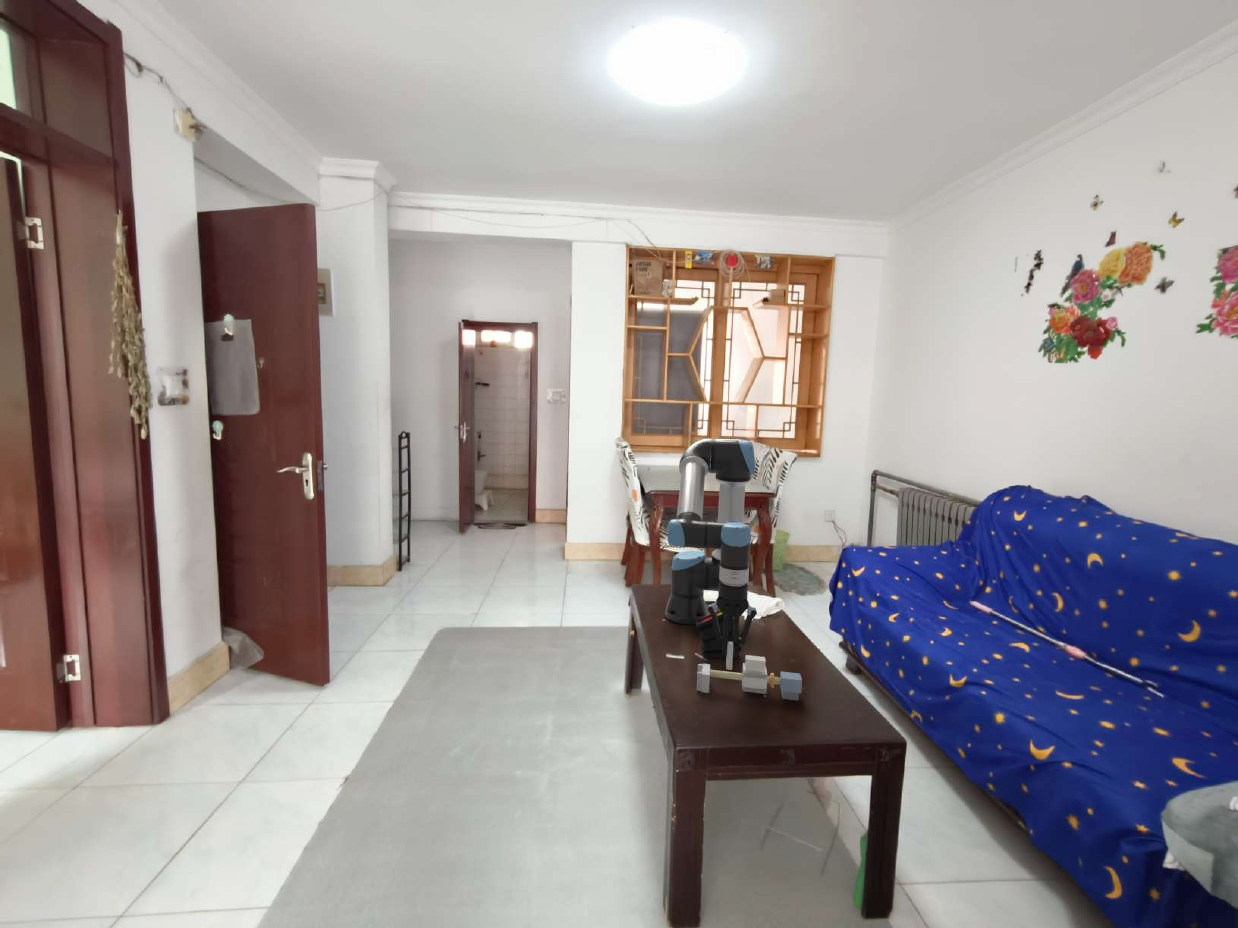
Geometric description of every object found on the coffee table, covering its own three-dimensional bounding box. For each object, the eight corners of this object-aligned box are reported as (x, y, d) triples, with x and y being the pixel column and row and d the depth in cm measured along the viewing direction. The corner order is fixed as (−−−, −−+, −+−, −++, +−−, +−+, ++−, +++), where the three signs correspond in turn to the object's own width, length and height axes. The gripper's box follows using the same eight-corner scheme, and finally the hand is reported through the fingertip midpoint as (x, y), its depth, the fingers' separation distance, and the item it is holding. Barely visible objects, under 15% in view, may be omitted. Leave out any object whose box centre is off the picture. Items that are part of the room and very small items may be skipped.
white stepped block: (741, 681, 147) (743, 652, 147) (764, 683, 146) (766, 654, 145) (742, 691, 142) (744, 661, 141) (766, 693, 141) (768, 663, 140)
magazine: (750, 653, 163) (731, 610, 161) (710, 671, 163) (691, 628, 161) (747, 648, 167) (728, 605, 165) (708, 665, 167) (689, 623, 165)
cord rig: (697, 680, 150) (698, 660, 149) (798, 691, 145) (799, 671, 145) (696, 691, 144) (697, 670, 144) (801, 703, 140) (802, 682, 139)
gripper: (708, 584, 140) (704, 671, 143) (760, 588, 138) (755, 676, 140) (708, 575, 147) (704, 658, 150) (757, 579, 145) (752, 662, 148)
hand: (729, 666), depth 145 cm, fingers closed
